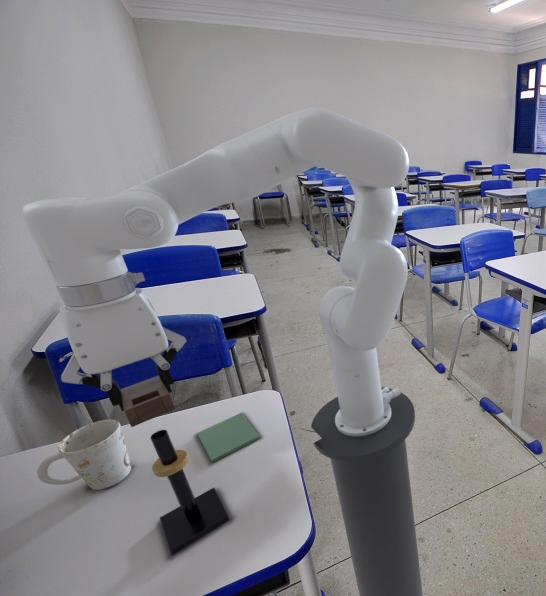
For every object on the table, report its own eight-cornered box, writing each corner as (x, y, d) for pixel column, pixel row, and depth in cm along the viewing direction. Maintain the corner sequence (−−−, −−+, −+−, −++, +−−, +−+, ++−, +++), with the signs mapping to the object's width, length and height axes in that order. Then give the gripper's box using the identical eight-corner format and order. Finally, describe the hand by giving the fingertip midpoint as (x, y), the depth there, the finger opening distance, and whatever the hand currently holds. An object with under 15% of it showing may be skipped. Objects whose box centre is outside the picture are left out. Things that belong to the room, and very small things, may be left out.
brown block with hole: (175, 409, 53) (169, 393, 52) (131, 427, 50) (124, 411, 49) (164, 388, 62) (158, 375, 61) (126, 403, 59) (120, 389, 58)
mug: (137, 480, 70) (116, 438, 66) (44, 517, 63) (15, 472, 59) (140, 453, 76) (122, 413, 72) (56, 483, 70) (31, 442, 66)
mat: (242, 414, 86) (241, 412, 86) (260, 437, 79) (259, 435, 78) (197, 435, 80) (197, 433, 80) (212, 462, 73) (211, 460, 73)
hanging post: (215, 491, 67) (184, 409, 60) (229, 519, 61) (197, 433, 55) (161, 521, 61) (120, 435, 55) (171, 555, 56) (127, 464, 49)
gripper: (166, 269, 60) (201, 366, 67) (11, 302, 49) (72, 414, 56) (177, 278, 55) (213, 382, 62) (6, 318, 44) (74, 439, 51)
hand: (146, 396), depth 59 cm, fingers closed on brown block with hole, 5 cm apart
